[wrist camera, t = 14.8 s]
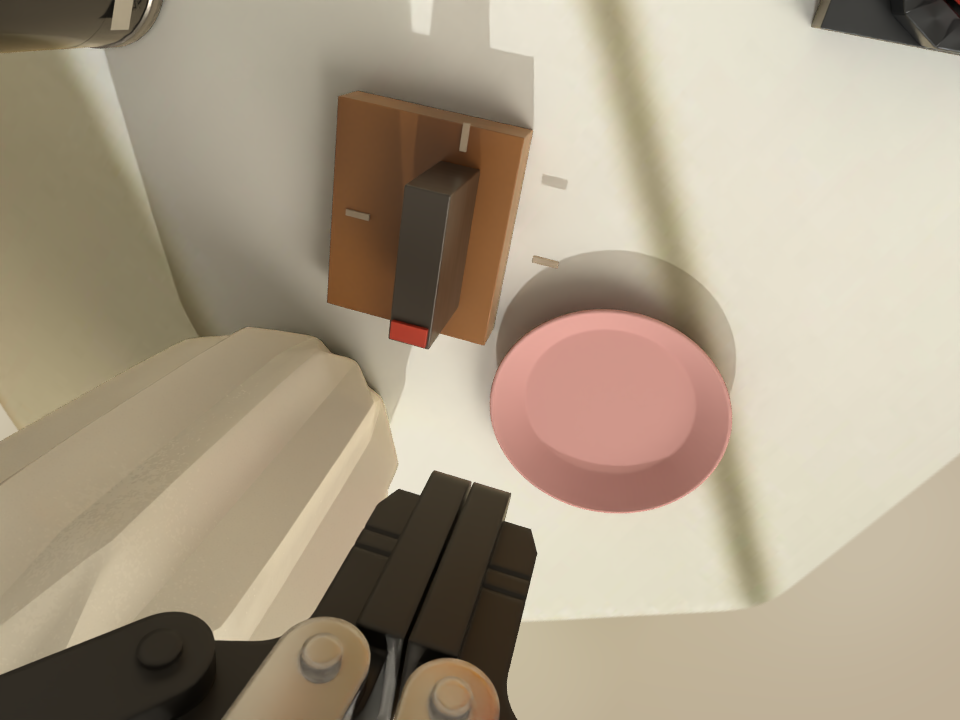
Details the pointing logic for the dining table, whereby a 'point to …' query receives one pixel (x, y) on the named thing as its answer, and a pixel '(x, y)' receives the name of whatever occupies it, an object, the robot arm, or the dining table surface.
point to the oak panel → (379, 198)
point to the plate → (610, 411)
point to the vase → (190, 493)
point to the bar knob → (432, 251)
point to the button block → (895, 21)
